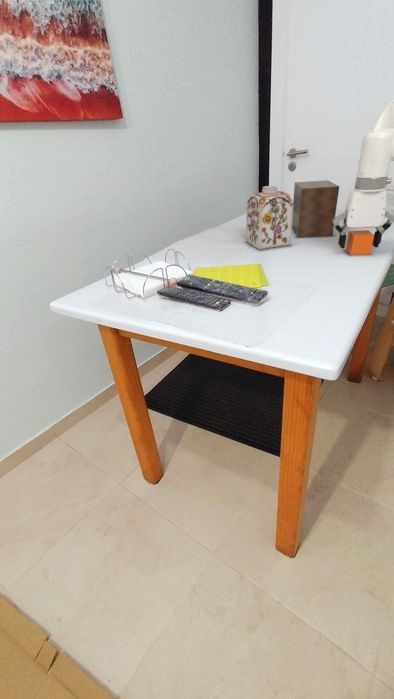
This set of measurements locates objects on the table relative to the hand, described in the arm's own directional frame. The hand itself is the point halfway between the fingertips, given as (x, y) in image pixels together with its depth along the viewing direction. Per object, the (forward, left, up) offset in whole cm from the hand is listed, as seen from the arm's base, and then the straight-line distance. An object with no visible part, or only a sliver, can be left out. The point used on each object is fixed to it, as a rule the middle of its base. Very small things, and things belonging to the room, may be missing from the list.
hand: (358, 246), depth 102 cm
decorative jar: (+26, -13, -2) cm, 29 cm away
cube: (0, 0, -2) cm, 2 cm away
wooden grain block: (+9, -28, -2) cm, 30 cm away
